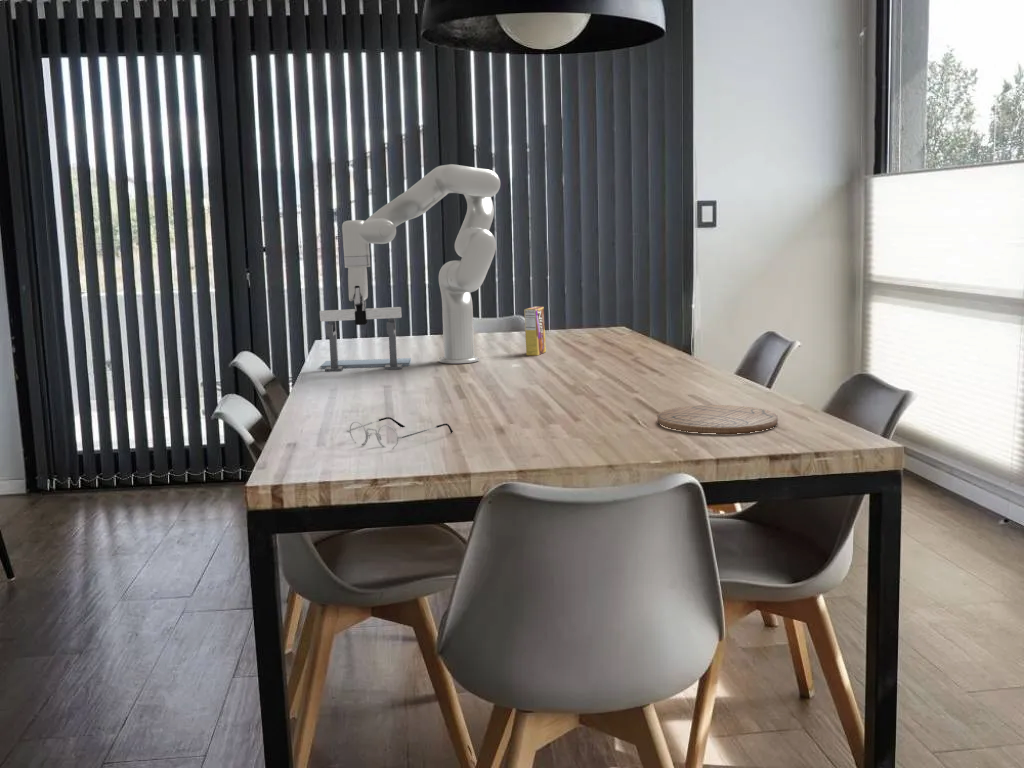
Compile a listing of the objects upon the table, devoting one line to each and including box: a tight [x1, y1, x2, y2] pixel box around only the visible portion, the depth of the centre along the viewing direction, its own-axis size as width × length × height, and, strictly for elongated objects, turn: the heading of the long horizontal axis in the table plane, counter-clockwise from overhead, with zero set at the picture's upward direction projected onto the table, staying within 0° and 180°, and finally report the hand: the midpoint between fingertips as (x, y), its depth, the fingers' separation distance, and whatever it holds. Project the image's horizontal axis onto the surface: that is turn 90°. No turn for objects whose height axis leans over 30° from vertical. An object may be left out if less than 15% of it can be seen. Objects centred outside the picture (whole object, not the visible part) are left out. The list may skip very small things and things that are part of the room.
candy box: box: [523, 306, 547, 357], centre depth 334 cm, size 9×4×15 cm, turn 160°
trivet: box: [657, 404, 779, 434], centre depth 217 cm, size 25×25×2 cm
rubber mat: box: [320, 357, 412, 370], centre depth 321 cm, size 11×27×1 cm, turn 92°
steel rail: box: [319, 306, 403, 322], centre depth 305 cm, size 2×24×3 cm, turn 92°
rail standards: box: [324, 318, 403, 373], centre depth 309 cm, size 10×23×17 cm, turn 92°
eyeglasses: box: [346, 416, 454, 449], centre depth 211 cm, size 16×19×5 cm
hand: (361, 323), depth 306 cm, fingers closed on steel rail, 2 cm apart
